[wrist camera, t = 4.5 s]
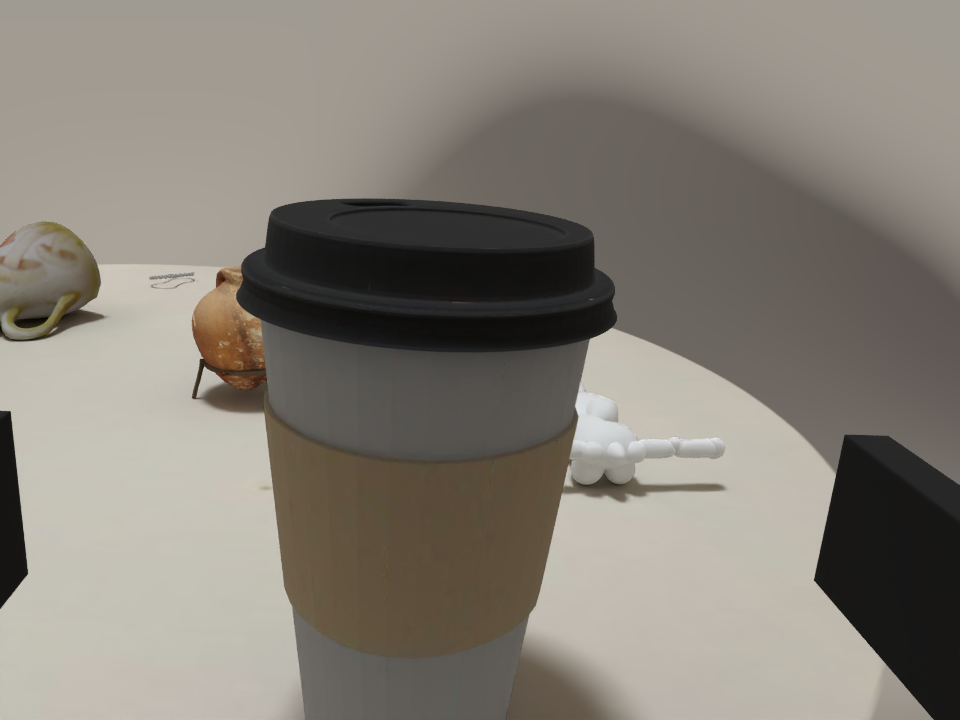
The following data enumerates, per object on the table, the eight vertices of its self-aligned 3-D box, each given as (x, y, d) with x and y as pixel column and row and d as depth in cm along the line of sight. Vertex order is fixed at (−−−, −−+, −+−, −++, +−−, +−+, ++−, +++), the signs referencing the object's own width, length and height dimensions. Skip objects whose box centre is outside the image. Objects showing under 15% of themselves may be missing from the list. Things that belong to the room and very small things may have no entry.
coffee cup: (363, 595, 31) (377, 187, 26) (605, 684, 27) (669, 224, 23) (169, 762, 23) (142, 211, 18) (477, 922, 19) (538, 276, 14)
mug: (-84, 333, 57) (-53, 200, 60) (44, 365, 66) (67, 248, 68) (-20, 326, 54) (10, 185, 56) (107, 361, 62) (129, 237, 64)
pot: (217, 383, 53) (173, 407, 47) (220, 258, 51) (175, 266, 45) (307, 392, 53) (274, 417, 46) (313, 267, 51) (280, 276, 45)
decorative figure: (441, 356, 55) (497, 429, 38) (614, 358, 57) (741, 428, 40) (439, 406, 56) (493, 501, 38) (610, 407, 58) (734, 497, 41)
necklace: (199, 276, 79) (199, 271, 79) (167, 281, 74) (167, 275, 74) (177, 275, 79) (176, 270, 79) (143, 280, 74) (143, 275, 74)
